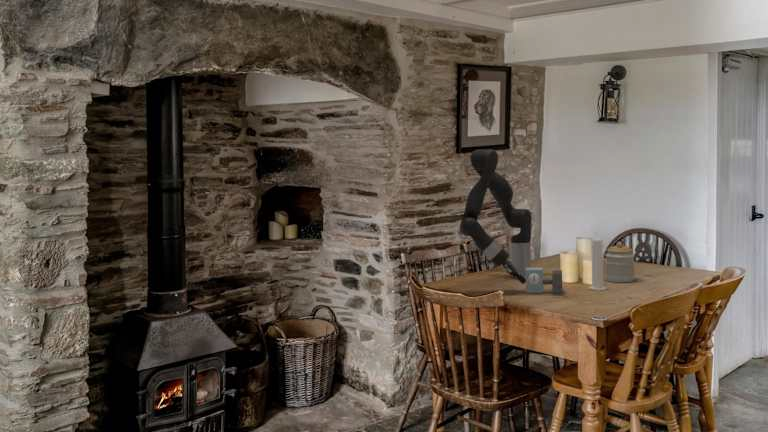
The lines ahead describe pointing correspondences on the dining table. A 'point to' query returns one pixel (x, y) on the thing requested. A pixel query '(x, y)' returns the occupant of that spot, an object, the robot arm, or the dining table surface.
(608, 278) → the jar
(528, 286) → the grey box with emblem
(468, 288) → the dining table surface
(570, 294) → the dining table surface
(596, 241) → the candle
